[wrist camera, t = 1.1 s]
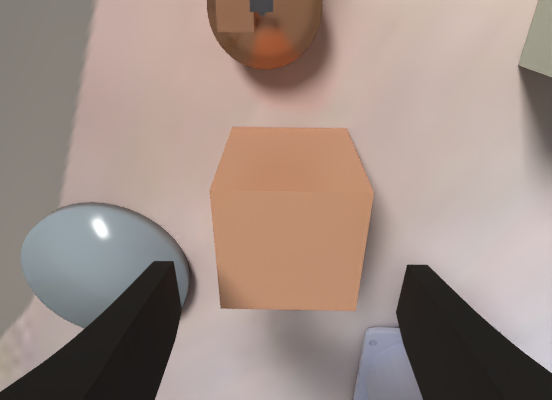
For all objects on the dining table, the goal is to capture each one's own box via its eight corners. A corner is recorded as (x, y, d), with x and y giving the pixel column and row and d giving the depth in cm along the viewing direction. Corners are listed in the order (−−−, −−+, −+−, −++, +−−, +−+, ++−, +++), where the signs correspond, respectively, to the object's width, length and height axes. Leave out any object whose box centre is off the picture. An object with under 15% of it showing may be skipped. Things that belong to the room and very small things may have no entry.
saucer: (197, 326, 24) (194, 336, 23) (56, 323, 24) (49, 333, 23) (179, 203, 19) (175, 211, 19) (5, 201, 19) (-5, 209, 19)
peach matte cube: (336, 224, 20) (355, 310, 14) (237, 222, 20) (220, 308, 15) (346, 128, 17) (373, 192, 12) (232, 127, 17) (209, 190, 12)
